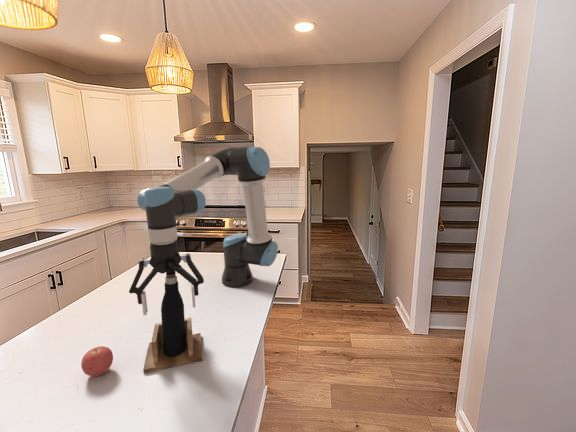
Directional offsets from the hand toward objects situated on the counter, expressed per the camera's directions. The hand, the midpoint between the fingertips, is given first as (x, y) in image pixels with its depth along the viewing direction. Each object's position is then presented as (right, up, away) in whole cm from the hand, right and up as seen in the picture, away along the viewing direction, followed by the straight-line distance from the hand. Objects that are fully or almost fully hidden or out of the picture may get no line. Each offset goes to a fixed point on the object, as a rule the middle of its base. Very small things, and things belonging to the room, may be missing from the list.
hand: (170, 309), depth 87 cm
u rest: (0, -15, +3) cm, 15 cm away
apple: (-18, -17, -5) cm, 25 cm away
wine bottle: (0, -14, +3) cm, 14 cm away
